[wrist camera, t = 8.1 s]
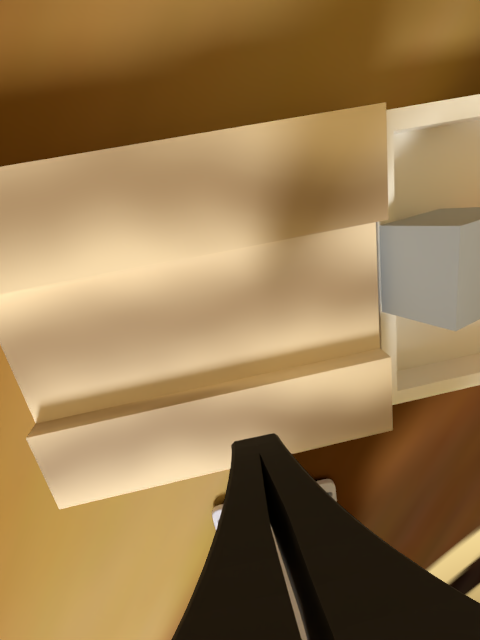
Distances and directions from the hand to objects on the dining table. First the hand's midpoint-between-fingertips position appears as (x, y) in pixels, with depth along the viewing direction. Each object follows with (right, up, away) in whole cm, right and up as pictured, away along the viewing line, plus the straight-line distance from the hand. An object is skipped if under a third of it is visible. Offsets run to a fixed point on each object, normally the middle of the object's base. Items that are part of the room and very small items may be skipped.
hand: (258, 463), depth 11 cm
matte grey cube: (+8, +7, +6) cm, 12 cm away
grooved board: (-3, +5, +7) cm, 9 cm away
